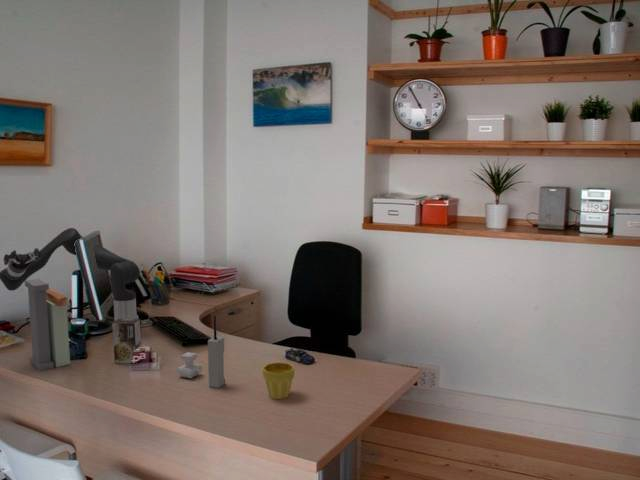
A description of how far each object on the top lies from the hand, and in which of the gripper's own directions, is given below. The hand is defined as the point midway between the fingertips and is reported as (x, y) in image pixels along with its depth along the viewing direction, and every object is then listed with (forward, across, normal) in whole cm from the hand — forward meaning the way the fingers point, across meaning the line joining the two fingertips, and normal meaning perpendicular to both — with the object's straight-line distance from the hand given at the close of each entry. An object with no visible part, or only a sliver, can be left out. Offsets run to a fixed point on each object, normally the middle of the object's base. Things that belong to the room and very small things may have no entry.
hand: (26, 251), depth 257 cm
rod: (+20, 0, +28) cm, 35 cm away
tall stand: (+9, -6, +50) cm, 52 cm away
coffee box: (+24, +21, +59) cm, 67 cm away
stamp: (+50, +31, +74) cm, 95 cm away
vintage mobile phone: (+62, +34, +81) cm, 108 cm away
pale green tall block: (+9, 0, +50) cm, 51 cm away
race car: (+61, +72, +81) cm, 124 cm away
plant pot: (+80, +45, +92) cm, 130 cm away
